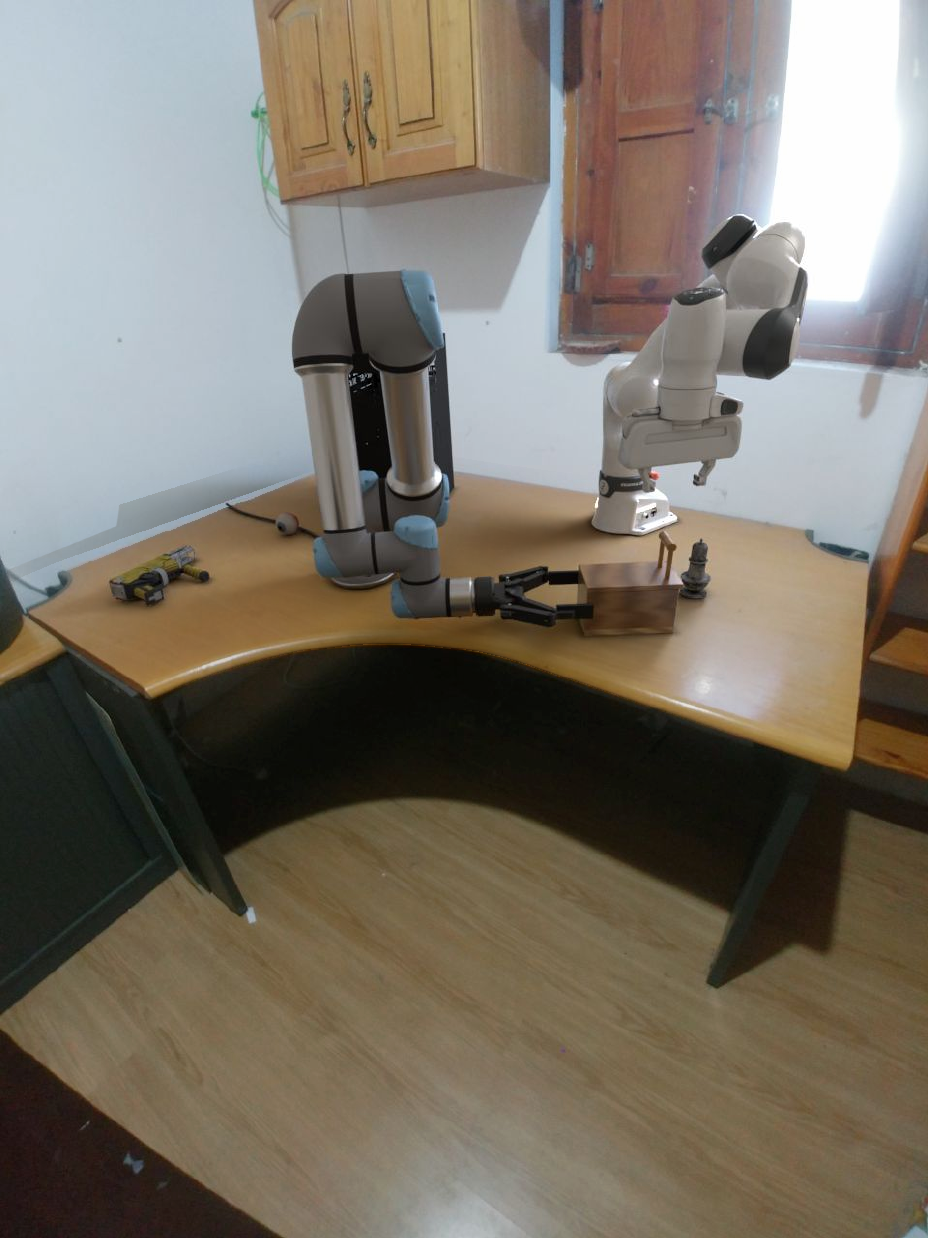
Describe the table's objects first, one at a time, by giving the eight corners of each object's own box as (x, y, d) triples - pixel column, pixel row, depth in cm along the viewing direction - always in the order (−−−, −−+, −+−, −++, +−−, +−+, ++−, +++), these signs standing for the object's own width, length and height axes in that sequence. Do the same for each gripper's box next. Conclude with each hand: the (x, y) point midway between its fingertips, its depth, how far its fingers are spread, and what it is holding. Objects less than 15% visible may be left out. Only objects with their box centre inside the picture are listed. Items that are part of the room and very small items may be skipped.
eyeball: (273, 537, 164) (268, 516, 161) (287, 528, 169) (282, 508, 166) (291, 539, 161) (286, 518, 158) (305, 530, 166) (301, 510, 163)
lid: (667, 565, 116) (672, 526, 112) (683, 589, 107) (689, 547, 103) (578, 568, 117) (580, 530, 113) (587, 592, 108) (589, 551, 104)
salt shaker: (710, 599, 121) (719, 544, 115) (679, 598, 123) (687, 543, 117) (706, 586, 126) (715, 532, 120) (676, 585, 128) (684, 532, 122)
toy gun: (232, 553, 147) (182, 542, 151) (158, 593, 127) (102, 580, 131) (234, 570, 150) (185, 559, 154) (162, 613, 130) (107, 599, 134)
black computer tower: (420, 531, 161) (403, 349, 139) (350, 528, 166) (322, 351, 143) (454, 487, 193) (445, 332, 170) (394, 486, 197) (377, 335, 175)
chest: (658, 606, 121) (663, 565, 116) (673, 632, 112) (679, 589, 107) (576, 609, 121) (578, 569, 117) (584, 635, 112) (587, 593, 108)
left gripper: (475, 584, 126) (577, 581, 125) (474, 649, 105) (597, 646, 104) (473, 551, 123) (578, 548, 122) (472, 612, 101) (599, 608, 100)
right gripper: (632, 414, 92) (625, 501, 99) (753, 401, 95) (737, 487, 102) (615, 406, 97) (609, 489, 104) (729, 395, 101) (716, 476, 107)
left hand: (587, 593), depth 113 cm, fingers open, 13 cm apart
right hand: (673, 488), depth 103 cm, fingers open, 8 cm apart
